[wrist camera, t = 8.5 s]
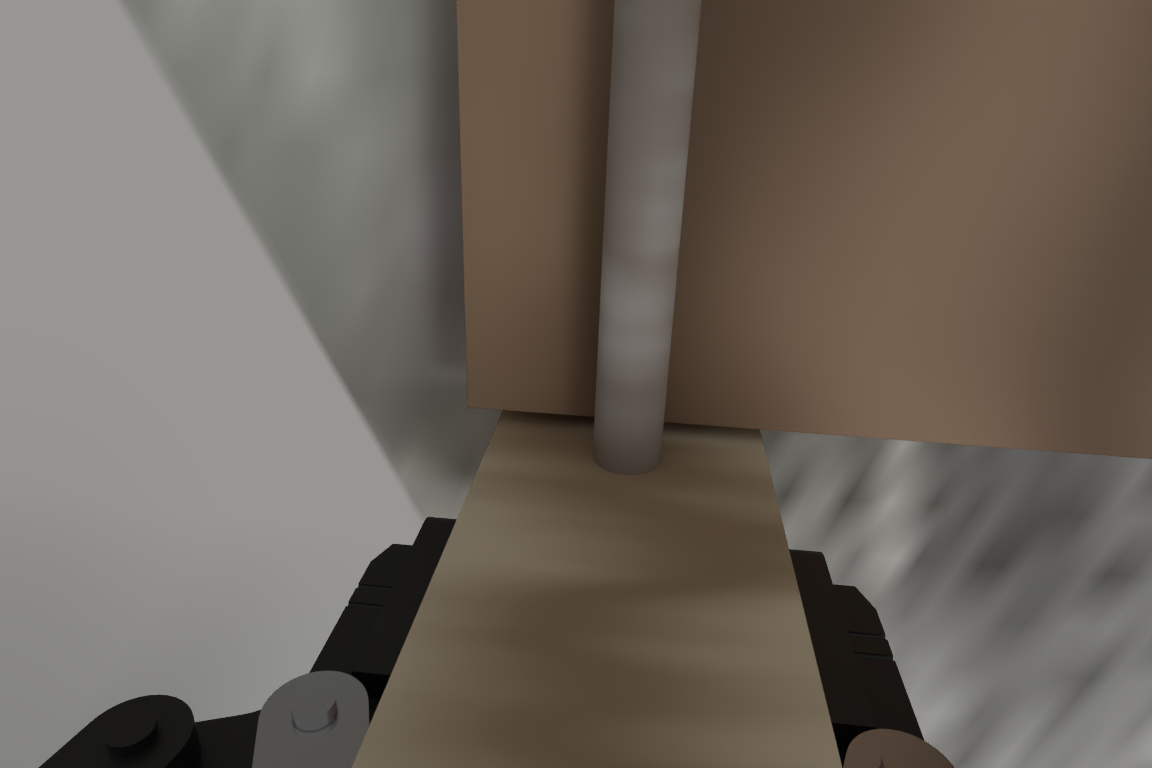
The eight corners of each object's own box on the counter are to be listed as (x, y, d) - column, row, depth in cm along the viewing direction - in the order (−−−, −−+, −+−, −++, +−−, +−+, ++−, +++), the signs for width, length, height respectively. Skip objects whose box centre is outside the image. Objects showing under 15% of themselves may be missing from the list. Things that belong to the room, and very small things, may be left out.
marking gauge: (833, -164, 12) (2658, -2261, 1) (735, 526, 17) (862, 1375, 6) (512, -170, 12) (-636, -1713, 1) (513, 506, 18) (270, 1277, 7)
